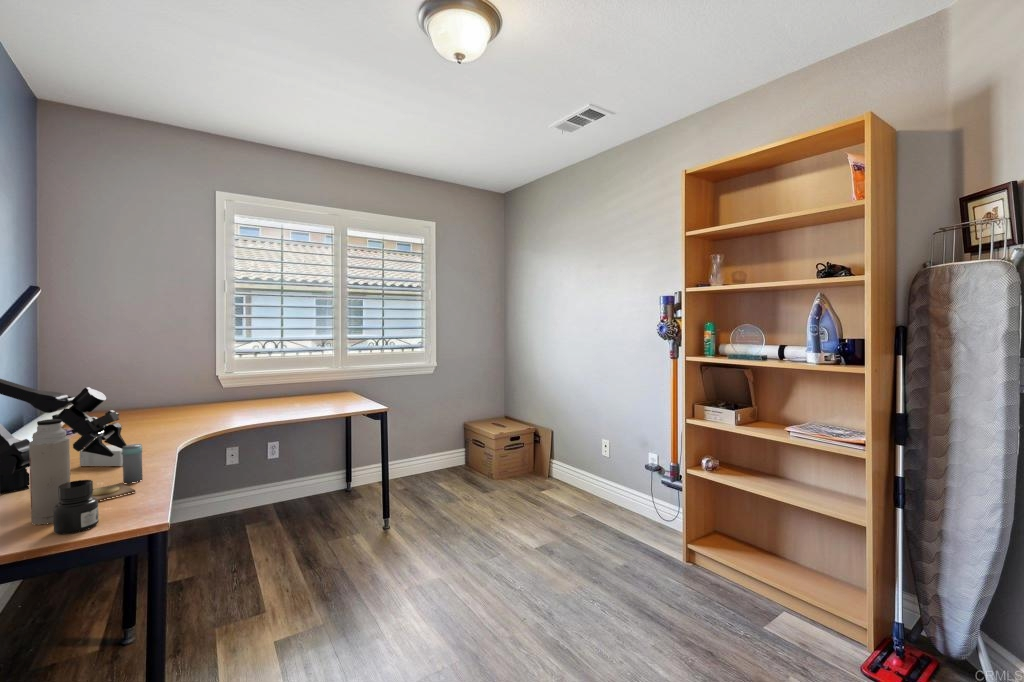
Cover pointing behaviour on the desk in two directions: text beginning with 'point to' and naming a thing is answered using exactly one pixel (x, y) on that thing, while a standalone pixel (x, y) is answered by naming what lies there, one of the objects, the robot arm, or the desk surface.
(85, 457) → the skincare box
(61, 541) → the desk surface
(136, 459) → the grey cylinder
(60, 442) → the thermos bottle
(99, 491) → the plate
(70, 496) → the ink bottle
